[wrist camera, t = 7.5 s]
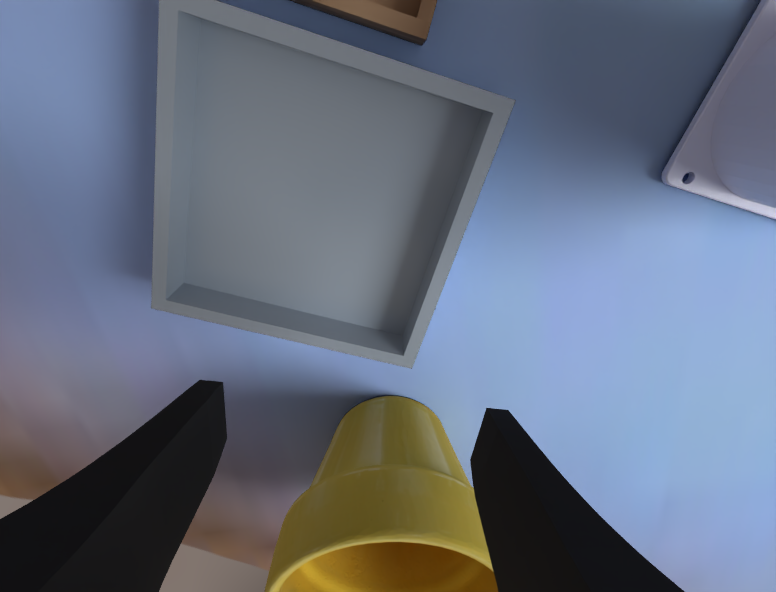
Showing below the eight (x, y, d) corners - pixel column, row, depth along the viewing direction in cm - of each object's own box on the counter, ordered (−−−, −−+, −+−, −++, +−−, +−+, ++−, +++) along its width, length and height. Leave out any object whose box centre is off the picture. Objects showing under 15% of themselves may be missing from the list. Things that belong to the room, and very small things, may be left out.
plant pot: (349, 339, 22) (324, 506, 13) (507, 407, 24) (577, 589, 15) (280, 460, 26) (227, 648, 17) (420, 508, 28) (436, 697, 19)
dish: (498, 99, 16) (515, 100, 14) (409, 341, 22) (411, 368, 20) (192, -3, 15) (159, -19, 13) (176, 285, 20) (151, 308, 18)
